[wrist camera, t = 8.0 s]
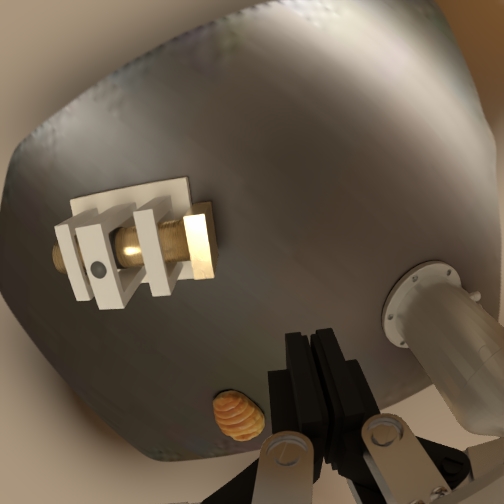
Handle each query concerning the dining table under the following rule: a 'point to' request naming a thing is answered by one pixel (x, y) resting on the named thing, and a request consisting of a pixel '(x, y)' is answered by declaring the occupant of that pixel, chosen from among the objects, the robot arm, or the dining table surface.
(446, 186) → the dining table surface
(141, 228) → the white slotted holder
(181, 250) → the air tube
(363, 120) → the dining table surface
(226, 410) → the pastry
